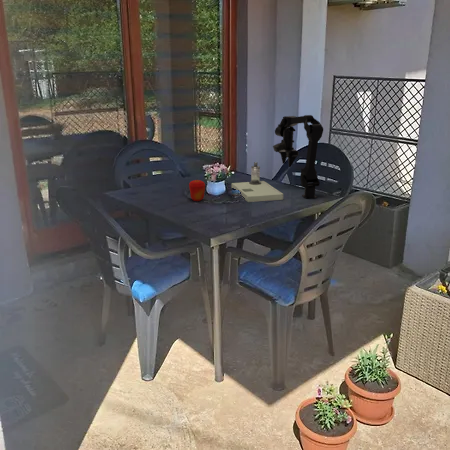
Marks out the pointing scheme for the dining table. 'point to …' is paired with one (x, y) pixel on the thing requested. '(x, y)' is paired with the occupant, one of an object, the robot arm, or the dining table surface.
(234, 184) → the block
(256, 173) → the grey upright piece
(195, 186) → the red cylinder
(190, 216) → the dining table surface
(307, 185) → the robot arm
